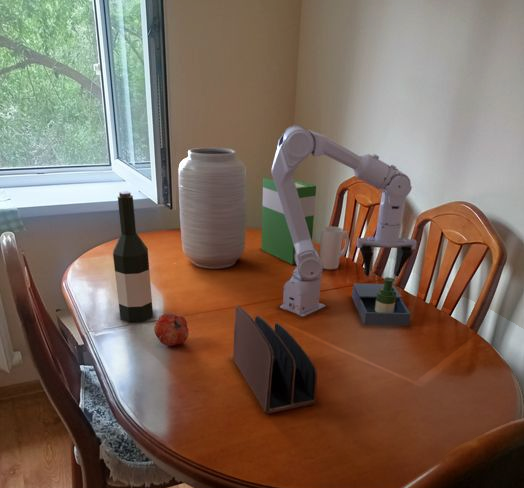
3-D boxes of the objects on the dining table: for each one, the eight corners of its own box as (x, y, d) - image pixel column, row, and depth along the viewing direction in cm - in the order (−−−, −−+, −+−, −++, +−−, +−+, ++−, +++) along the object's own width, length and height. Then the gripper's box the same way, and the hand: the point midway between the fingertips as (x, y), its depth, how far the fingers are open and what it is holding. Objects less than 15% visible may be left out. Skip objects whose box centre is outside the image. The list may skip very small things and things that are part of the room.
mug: (324, 271, 153) (328, 233, 148) (313, 263, 159) (317, 227, 153) (351, 267, 157) (356, 230, 152) (340, 260, 163) (344, 224, 157)
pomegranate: (151, 351, 111) (161, 343, 103) (148, 319, 113) (157, 309, 104) (183, 348, 115) (195, 340, 106) (179, 317, 116) (191, 307, 107)
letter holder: (266, 415, 88) (268, 347, 82) (232, 360, 105) (232, 300, 98) (315, 404, 92) (322, 338, 85) (275, 353, 108) (278, 294, 101)
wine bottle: (145, 324, 118) (134, 198, 104) (113, 320, 119) (98, 195, 105) (159, 310, 125) (150, 190, 111) (128, 306, 126) (115, 187, 112)
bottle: (385, 324, 121) (392, 284, 116) (369, 318, 124) (375, 278, 119) (395, 318, 124) (402, 279, 119) (379, 312, 127) (386, 274, 122)
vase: (174, 254, 162) (168, 146, 146) (231, 248, 170) (231, 145, 154) (193, 276, 146) (189, 157, 130) (255, 267, 154) (258, 155, 138)
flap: (353, 284, 134) (353, 283, 133) (393, 285, 134) (393, 284, 134) (359, 297, 126) (359, 296, 126) (401, 298, 127) (401, 297, 126)
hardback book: (261, 249, 170) (263, 177, 159) (278, 245, 174) (281, 175, 162) (292, 264, 157) (297, 188, 146) (310, 260, 161) (316, 185, 150)
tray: (351, 298, 136) (353, 285, 134) (391, 299, 136) (393, 286, 134) (363, 326, 121) (365, 313, 119) (408, 327, 121) (410, 313, 119)
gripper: (414, 218, 123) (405, 269, 130) (356, 217, 123) (350, 268, 129) (422, 226, 117) (412, 279, 124) (362, 225, 117) (355, 278, 123)
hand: (381, 274), depth 126 cm, fingers open, 7 cm apart
